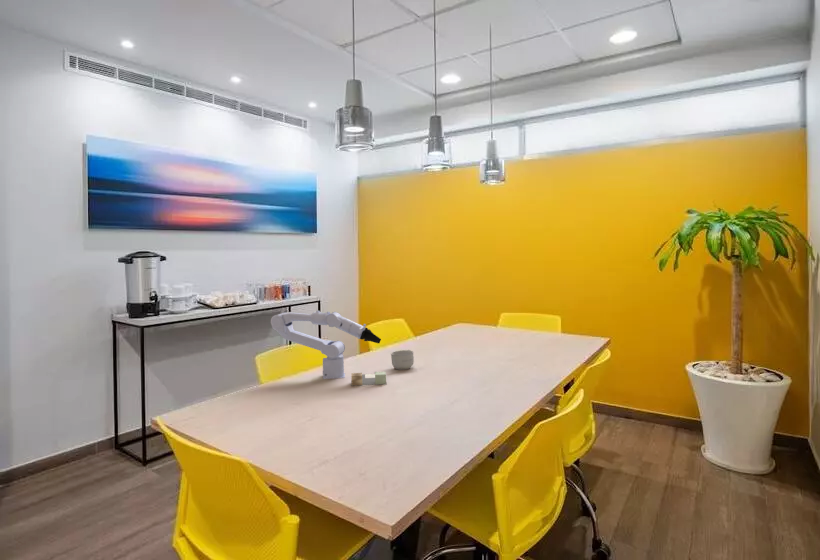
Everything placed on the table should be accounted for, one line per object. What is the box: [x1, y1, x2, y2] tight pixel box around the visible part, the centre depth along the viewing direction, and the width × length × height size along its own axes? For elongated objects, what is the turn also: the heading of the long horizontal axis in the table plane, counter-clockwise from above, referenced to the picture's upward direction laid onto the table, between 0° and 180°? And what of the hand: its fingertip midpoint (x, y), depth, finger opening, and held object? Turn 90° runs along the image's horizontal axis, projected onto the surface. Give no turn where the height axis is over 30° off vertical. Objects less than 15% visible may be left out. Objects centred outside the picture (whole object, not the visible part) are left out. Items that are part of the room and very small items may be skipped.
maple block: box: [350, 372, 363, 385], centre depth 201 cm, size 4×4×4 cm
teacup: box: [390, 349, 415, 371], centre depth 227 cm, size 14×11×8 cm
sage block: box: [374, 371, 387, 385], centre depth 202 cm, size 4×4×4 cm
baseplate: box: [350, 373, 388, 387], centre depth 207 cm, size 15×17×1 cm
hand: (379, 340), depth 208 cm, fingers open, 7 cm apart
